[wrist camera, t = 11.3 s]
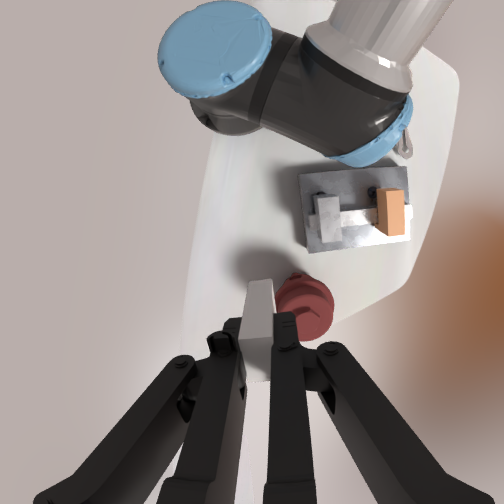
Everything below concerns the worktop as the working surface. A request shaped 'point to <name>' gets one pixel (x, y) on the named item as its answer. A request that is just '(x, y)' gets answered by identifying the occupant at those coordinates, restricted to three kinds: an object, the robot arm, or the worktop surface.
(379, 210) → the block
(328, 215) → the bar
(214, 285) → the worktop surface
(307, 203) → the hole plate
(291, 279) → the mechanical component
